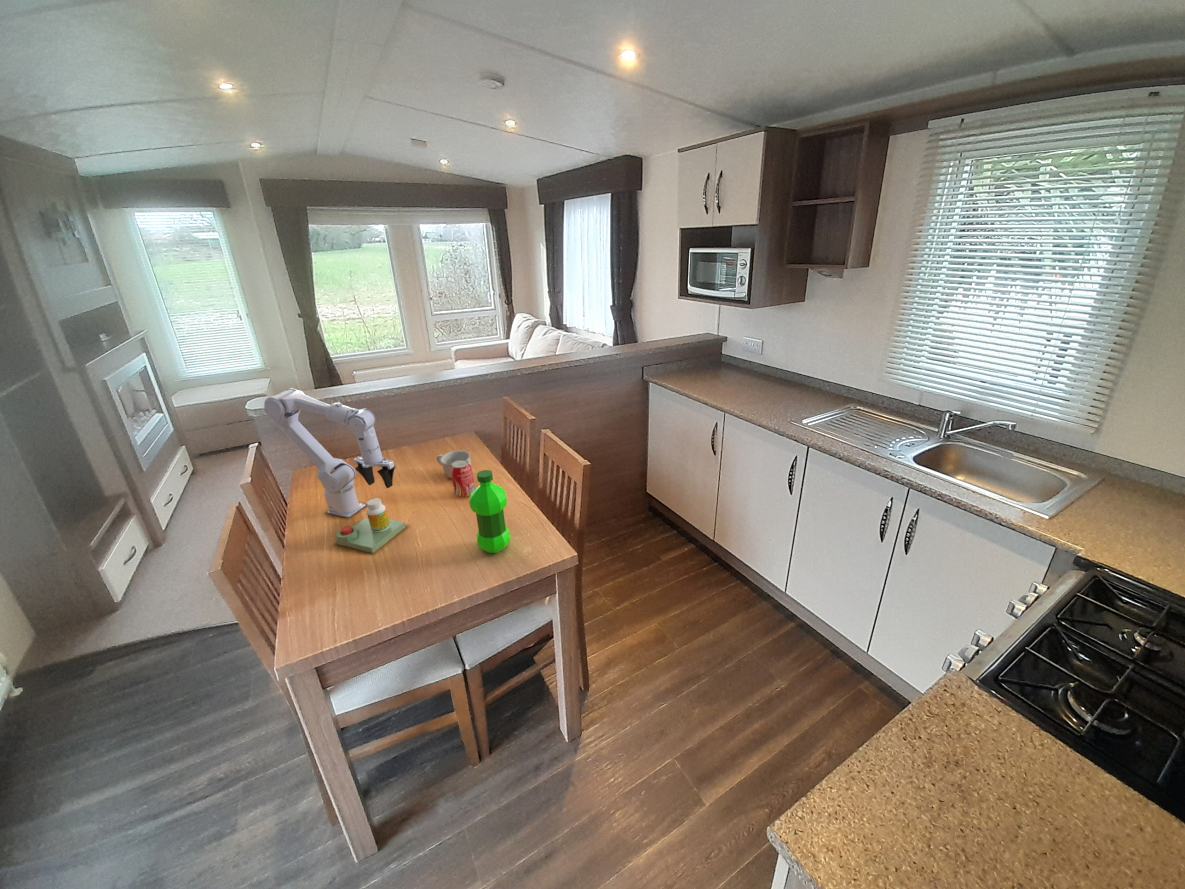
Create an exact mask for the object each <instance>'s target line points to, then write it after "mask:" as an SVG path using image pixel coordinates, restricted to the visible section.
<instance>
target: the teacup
mask: <svg viewBox="0 0 1185 889" xmlns="http://www.w3.org/2000/svg"><path fill="white" fill-rule="evenodd" d="M457 460H467V461H468V462H469V464H470V465H471V466H472V459H471V454H470V452H468V451H467V450H452V451H450V452H447V453H445V454H442V453H441V454H440V453H439V454H438V455H437V456H436V461H437V462H438V464H439V465H440V466H441V467H442V470H443V473H444V474H445V476H446V477H447V478H451V479H452V475H451V467H452V463H453V462H455V461H457Z"/></svg>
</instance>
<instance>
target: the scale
mask: <svg viewBox="0 0 1185 889" xmlns="http://www.w3.org/2000/svg"><path fill="white" fill-rule="evenodd" d="M388 520H389V524H390V526H389V528H388V529H387V530H385V531H383V532H373V531H372V530H371V527H370V523H369V519H368V516H366V517H365V518H363V519H362V520H360V521H359V522H357V523H356V524H355V525H350V526H351V527H352V530H353V532H352V533H351V534H348V535H342V533H341V528H340V529H339V530H337V532H336V534H335V536H336V538H335V541H336V544H337V545H340V546H344V547H348V548H351V549H356V550H359V551H363V552H366V553H370V554H374V553H375V552H377V551H378V550H380V549H381V548H382V547H383V546H384V545H385V544H387V543H388V542H389V541H390V540H392V539H393V538H394V537H395V536H397V534H399V533H400V532H401V531H403V530H404V529H405V528H406V522H405V521H401V520H395V519H393V518H392V519H391V518H388Z"/></svg>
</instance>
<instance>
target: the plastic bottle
mask: <svg viewBox="0 0 1185 889" xmlns="http://www.w3.org/2000/svg"><path fill="white" fill-rule="evenodd" d="M476 479H477V483H479V485H478V486H476V487H474V490H473V491H472V492H471V493H470V495H469V496H468V497H469V498H468V499H469V508H470V510H471V512H473V513H475V515H476V520H477V521H476V523H477V529H478V530H477V533H476V543H477V546H478V547H479V548H480V549H481V550H483V551H485V552H486V553H489V554H498V553H499V552H502V551H503V550H504V549H505V548H506V547H507V546H508V545H509V543H510V541H511V535H510V534H511V533H510V529H509V527H508V526H507V525H506V520H505V519H506V518H505V512H504V509H505V508H506V507H507V504H508V501H507V493H506V490H505V489H504V488H503V487H501V485H498V484H496V483H493V482H492V481H493V480H494V476H493V471H492V470H490V469H482V470H480V471H478V472H477V473H476Z"/></svg>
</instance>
